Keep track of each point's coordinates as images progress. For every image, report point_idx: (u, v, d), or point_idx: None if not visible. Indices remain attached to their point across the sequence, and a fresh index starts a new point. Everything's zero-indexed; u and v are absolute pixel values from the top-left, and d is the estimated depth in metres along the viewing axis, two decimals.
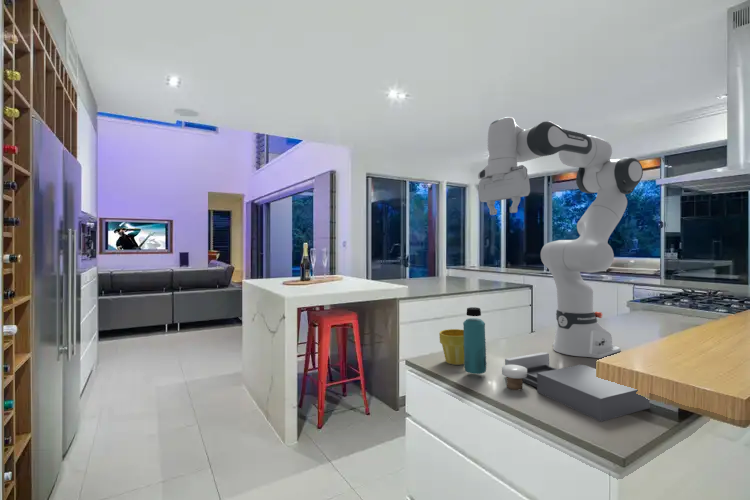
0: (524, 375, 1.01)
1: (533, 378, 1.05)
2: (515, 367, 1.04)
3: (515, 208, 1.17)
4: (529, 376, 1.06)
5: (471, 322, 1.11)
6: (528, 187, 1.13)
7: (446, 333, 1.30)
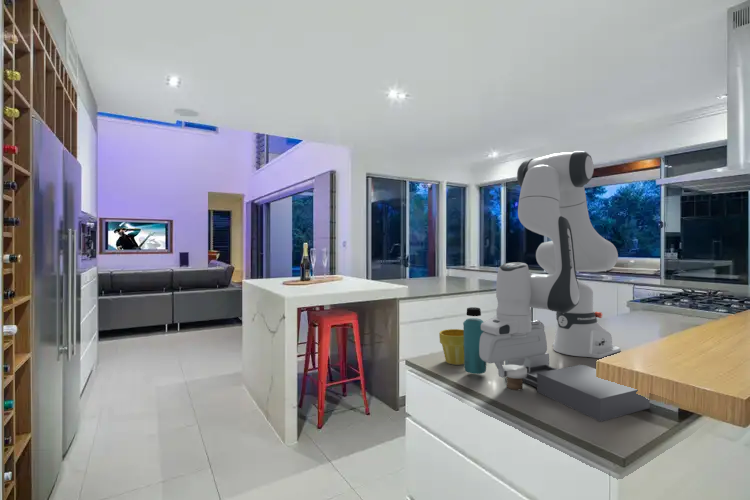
0: (524, 375, 1.01)
1: (533, 378, 1.05)
2: (515, 367, 1.04)
3: None
4: (529, 376, 1.06)
5: (471, 322, 1.11)
6: None
7: (446, 333, 1.30)
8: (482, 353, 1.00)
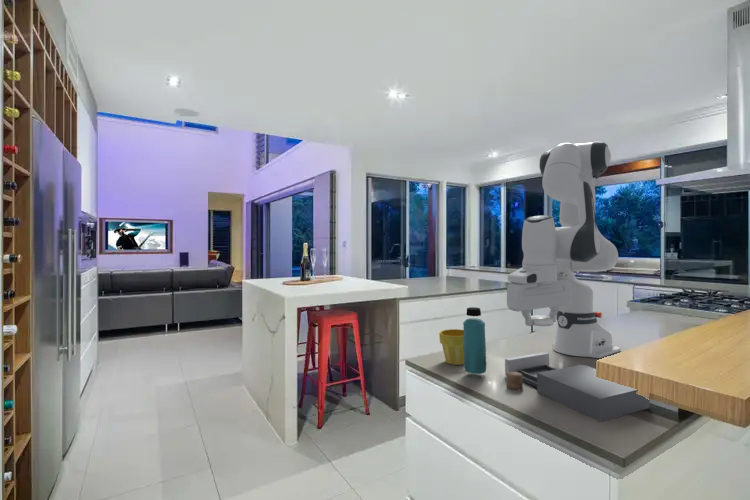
0: (550, 323, 1.05)
1: (533, 378, 1.05)
2: (541, 317, 1.08)
3: None
4: (529, 376, 1.06)
5: (471, 322, 1.11)
6: None
7: (446, 333, 1.30)
8: (510, 302, 1.04)
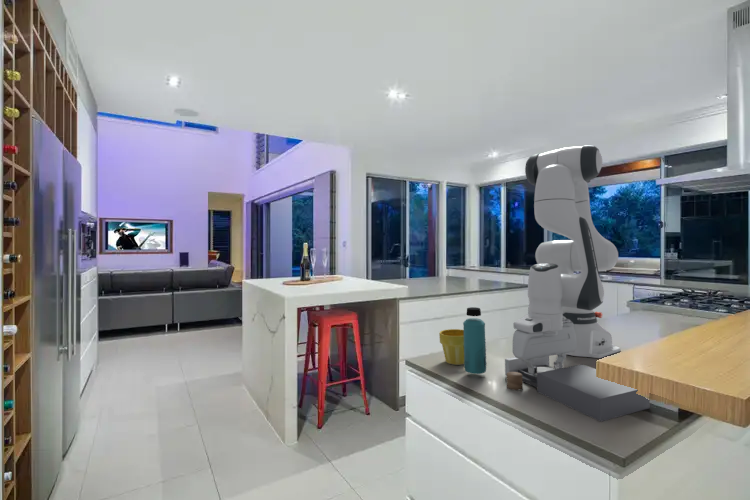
0: None
1: (533, 378, 1.05)
2: (546, 369, 1.08)
3: None
4: (529, 376, 1.06)
5: (471, 322, 1.11)
6: None
7: (446, 333, 1.30)
8: (516, 350, 1.04)
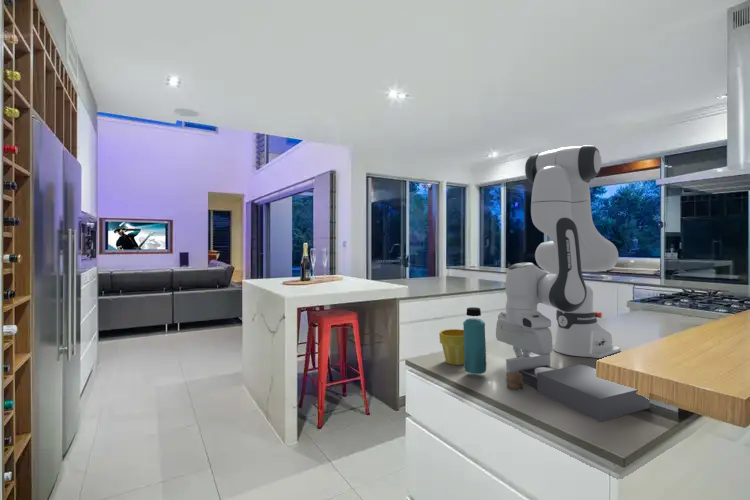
0: None
1: (534, 379, 1.05)
2: (547, 370, 1.08)
3: None
4: (530, 377, 1.06)
5: (471, 322, 1.11)
6: None
7: (446, 333, 1.30)
8: (546, 348, 1.07)
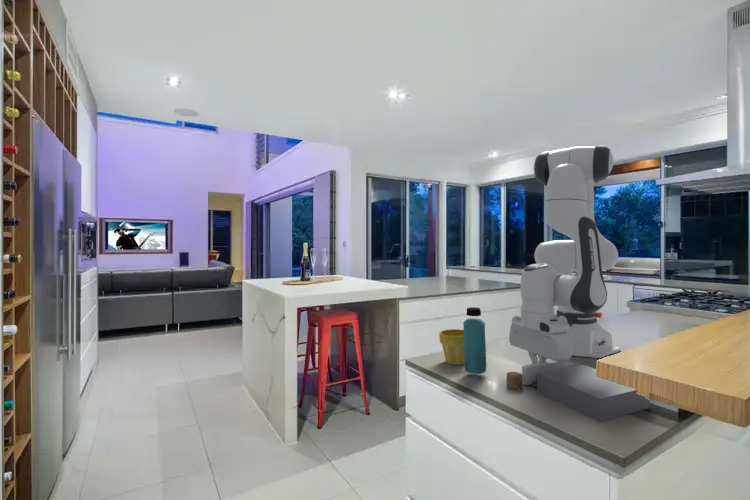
0: None
1: None
2: None
3: None
4: None
5: (471, 322, 1.11)
6: None
7: (446, 333, 1.30)
8: (565, 354, 1.01)
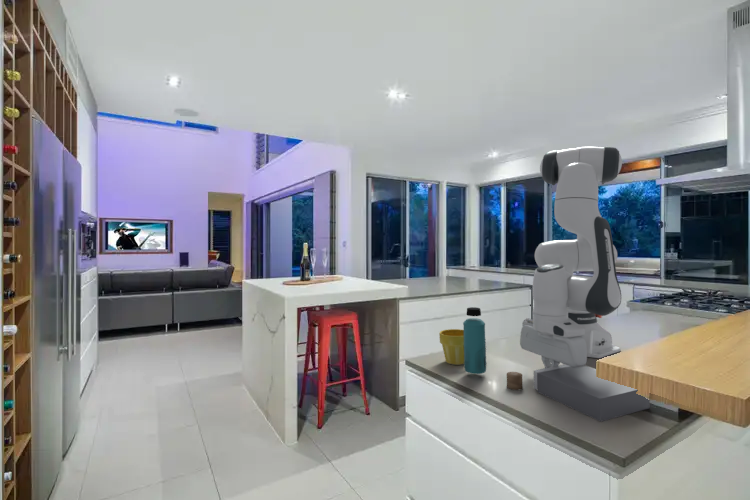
0: None
1: None
2: None
3: None
4: None
5: (471, 322, 1.11)
6: None
7: (446, 333, 1.30)
8: (580, 359, 0.96)
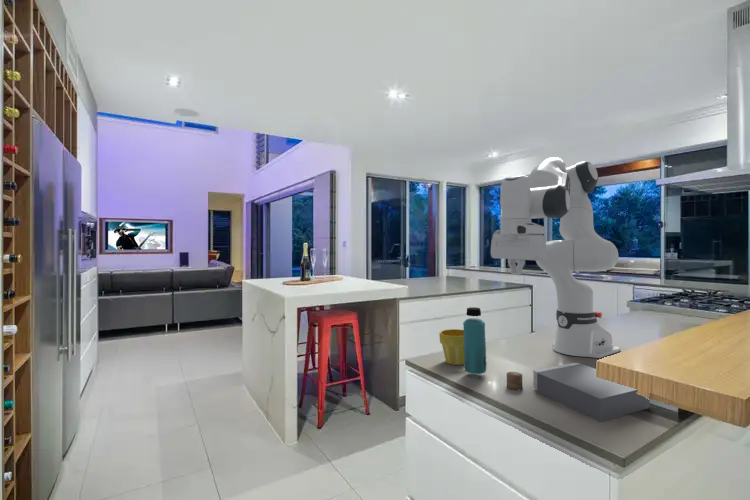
0: None
1: None
2: None
3: None
4: None
5: (471, 322, 1.11)
6: None
7: (446, 333, 1.30)
8: (540, 252, 1.08)
